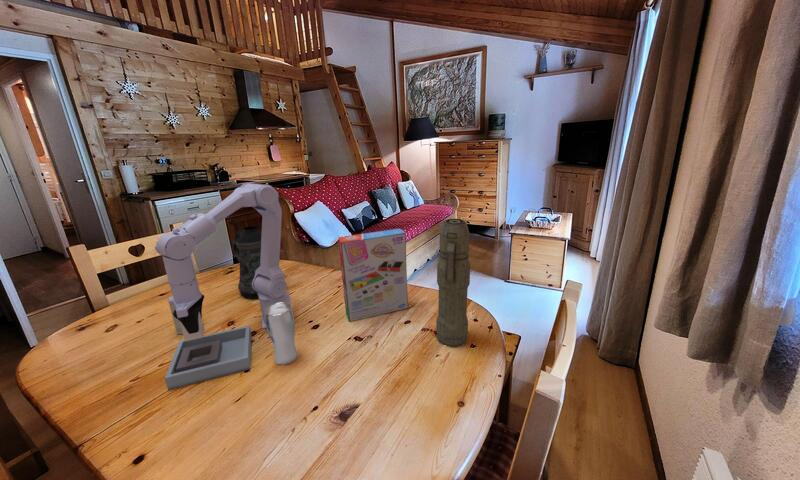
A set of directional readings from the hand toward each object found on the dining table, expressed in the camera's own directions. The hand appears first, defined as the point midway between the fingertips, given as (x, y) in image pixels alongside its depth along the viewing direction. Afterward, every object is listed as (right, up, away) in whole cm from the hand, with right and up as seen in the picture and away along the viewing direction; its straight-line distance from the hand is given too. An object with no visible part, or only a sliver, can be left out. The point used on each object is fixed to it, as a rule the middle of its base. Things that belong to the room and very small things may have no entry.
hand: (195, 327), depth 85 cm
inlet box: (+3, -9, +3) cm, 10 cm away
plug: (0, -2, 0) cm, 2 cm away
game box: (+46, -1, +24) cm, 52 cm away
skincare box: (-13, -5, +18) cm, 22 cm away
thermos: (+68, -6, +9) cm, 69 cm away
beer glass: (+23, -9, +3) cm, 25 cm away
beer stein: (-2, +3, +42) cm, 42 cm away
